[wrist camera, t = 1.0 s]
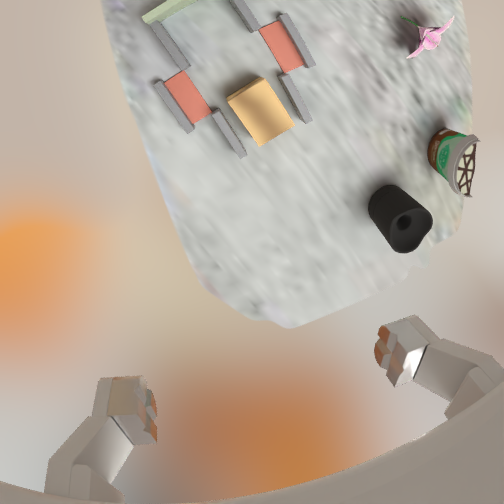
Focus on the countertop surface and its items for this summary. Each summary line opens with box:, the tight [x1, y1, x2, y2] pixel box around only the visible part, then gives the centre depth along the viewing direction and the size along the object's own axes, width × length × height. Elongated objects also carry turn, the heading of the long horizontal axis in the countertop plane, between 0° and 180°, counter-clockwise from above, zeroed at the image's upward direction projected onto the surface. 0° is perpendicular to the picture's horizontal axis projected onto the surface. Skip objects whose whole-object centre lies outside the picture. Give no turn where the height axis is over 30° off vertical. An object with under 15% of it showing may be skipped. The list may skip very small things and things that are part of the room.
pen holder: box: [369, 185, 433, 253], centre depth 51 cm, size 9×9×10 cm
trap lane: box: [142, 0, 316, 159], centre depth 35 cm, size 22×26×5 cm
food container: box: [427, 129, 480, 198], centre depth 45 cm, size 12×6×10 cm, turn 10°
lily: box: [401, 16, 455, 59], centre depth 32 cm, size 12×12×10 cm
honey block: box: [226, 77, 295, 147], centre depth 40 cm, size 6×8×5 cm
